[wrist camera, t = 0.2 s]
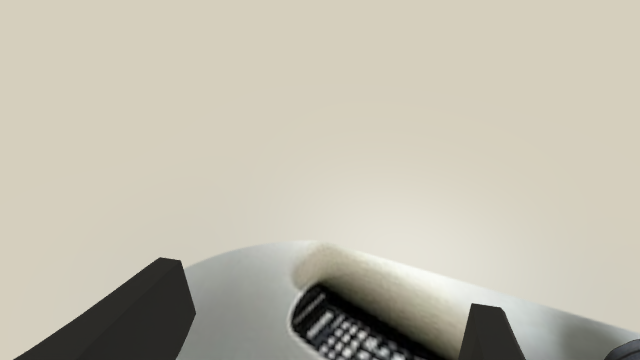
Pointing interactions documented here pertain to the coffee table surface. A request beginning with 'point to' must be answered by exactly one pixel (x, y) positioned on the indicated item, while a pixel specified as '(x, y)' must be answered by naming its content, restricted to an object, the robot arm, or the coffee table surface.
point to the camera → (626, 351)
